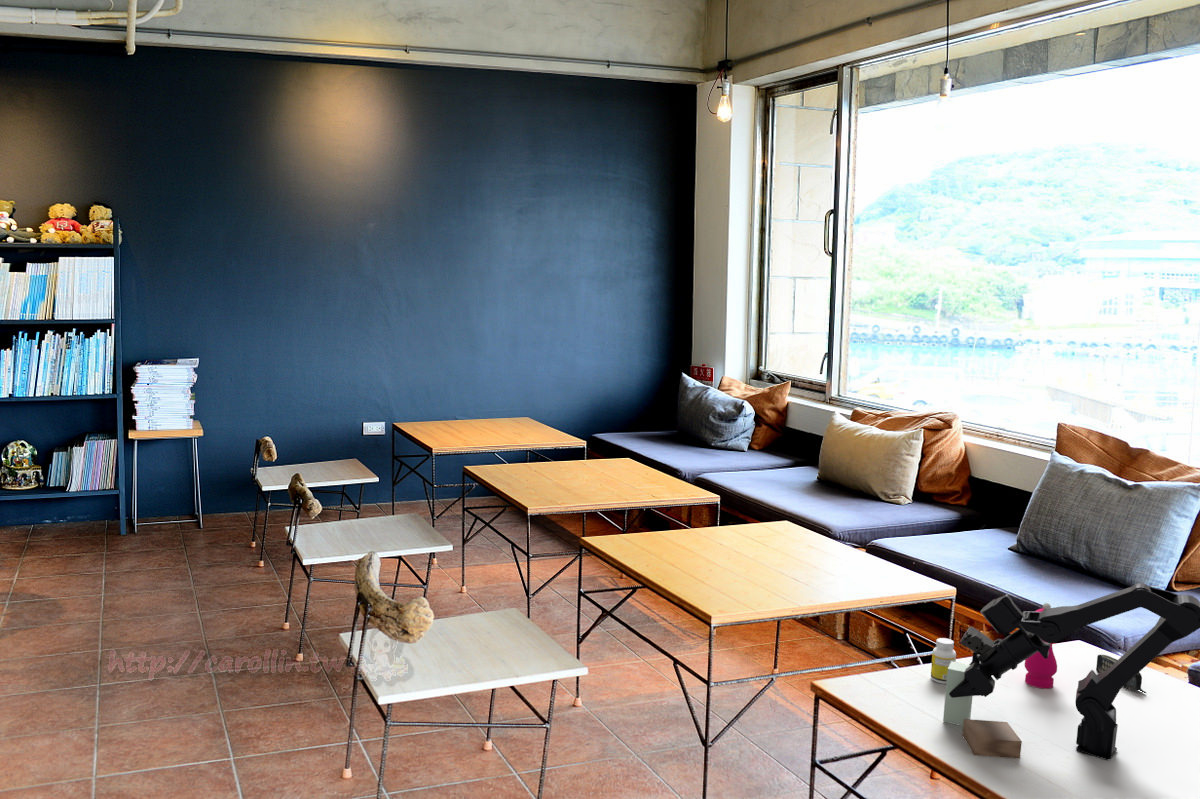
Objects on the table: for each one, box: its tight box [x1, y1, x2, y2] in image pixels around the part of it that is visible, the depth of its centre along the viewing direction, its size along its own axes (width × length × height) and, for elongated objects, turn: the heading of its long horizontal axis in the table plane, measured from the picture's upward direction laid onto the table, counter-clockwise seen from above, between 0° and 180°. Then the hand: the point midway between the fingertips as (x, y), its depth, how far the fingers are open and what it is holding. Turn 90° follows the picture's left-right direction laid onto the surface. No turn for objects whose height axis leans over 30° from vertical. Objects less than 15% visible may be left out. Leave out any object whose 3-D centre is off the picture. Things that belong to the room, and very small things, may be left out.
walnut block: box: [961, 718, 1023, 759], centre depth 214 cm, size 9×9×4 cm
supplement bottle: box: [930, 637, 957, 685], centre depth 249 cm, size 5×5×10 cm
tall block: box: [942, 661, 973, 726], centre depth 226 cm, size 5×5×12 cm
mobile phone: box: [1095, 654, 1147, 694], centre depth 252 cm, size 5×3×15 cm
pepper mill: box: [1024, 602, 1058, 690], centre depth 248 cm, size 7×7×20 cm
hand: (953, 688), depth 227 cm, fingers open, 9 cm apart
